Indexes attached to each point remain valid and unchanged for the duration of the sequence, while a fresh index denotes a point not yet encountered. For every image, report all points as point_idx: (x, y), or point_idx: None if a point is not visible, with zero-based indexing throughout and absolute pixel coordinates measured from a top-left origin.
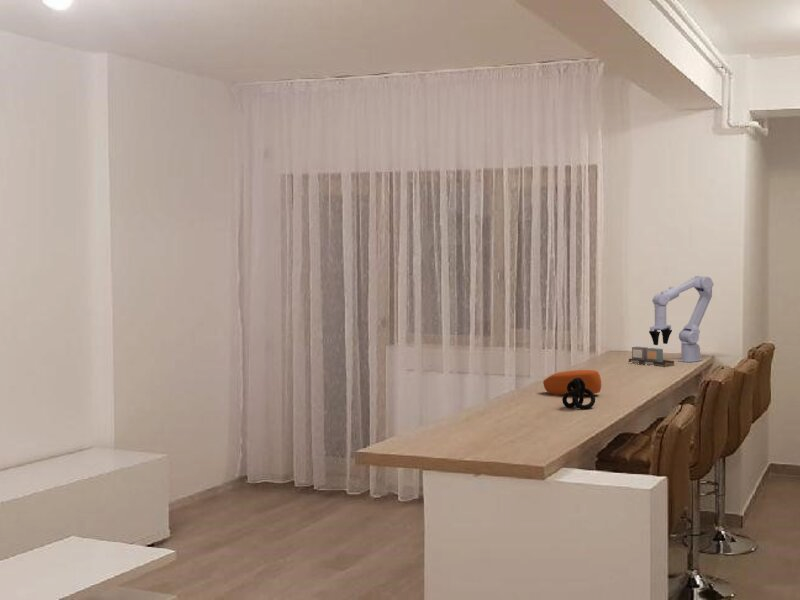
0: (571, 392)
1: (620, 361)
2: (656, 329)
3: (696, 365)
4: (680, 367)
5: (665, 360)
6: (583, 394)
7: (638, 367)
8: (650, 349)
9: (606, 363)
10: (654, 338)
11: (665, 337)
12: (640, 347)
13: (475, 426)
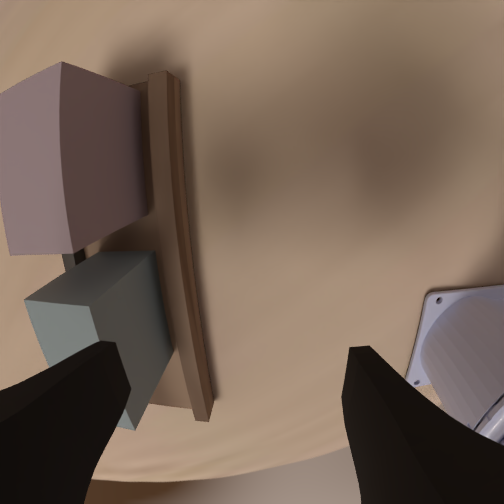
0: None
1: (103, 6)
2: None
3: (307, 454)
4: (185, 443)
5: (184, 375)
6: None
7: (18, 298)
8: (44, 345)
9: (4, 58)
10: (49, 419)
11: (370, 463)
12: (21, 181)
13: None
